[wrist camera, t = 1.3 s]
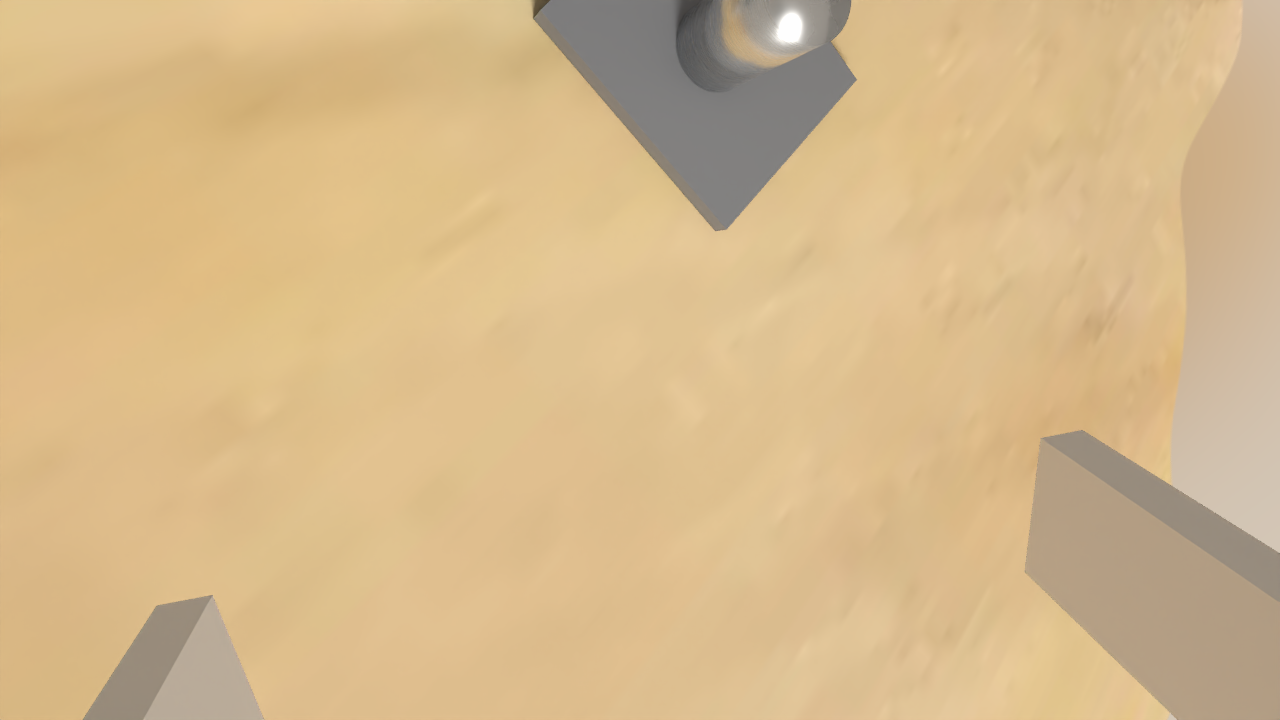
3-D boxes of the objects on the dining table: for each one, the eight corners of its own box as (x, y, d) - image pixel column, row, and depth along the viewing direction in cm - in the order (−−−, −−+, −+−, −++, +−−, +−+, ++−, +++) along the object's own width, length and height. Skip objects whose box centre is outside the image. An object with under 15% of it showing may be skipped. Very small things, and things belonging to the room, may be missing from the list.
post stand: (533, 18, 35) (600, -67, 27) (689, -133, 38) (796, -254, 29) (715, 231, 40) (820, 215, 32) (843, 85, 42) (971, 35, 34)
